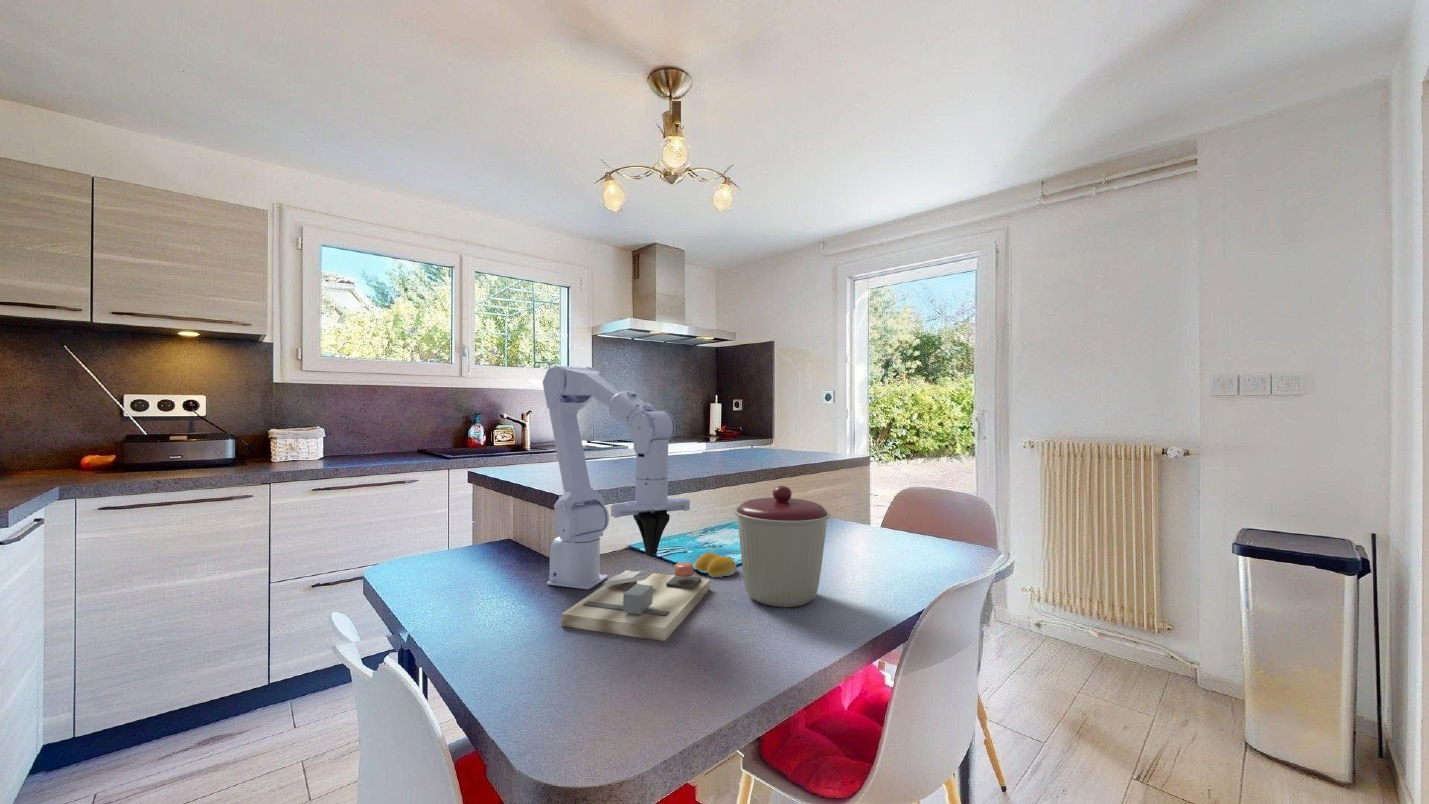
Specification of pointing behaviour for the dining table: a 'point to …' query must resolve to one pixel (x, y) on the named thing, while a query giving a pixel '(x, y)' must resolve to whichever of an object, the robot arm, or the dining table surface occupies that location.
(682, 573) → the red push button
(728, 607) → the dining table surface
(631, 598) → the grey rectangular block
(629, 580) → the grey rocker
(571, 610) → the switch panel
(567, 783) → the dining table surface
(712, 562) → the double yolk fried egg
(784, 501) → the canister
